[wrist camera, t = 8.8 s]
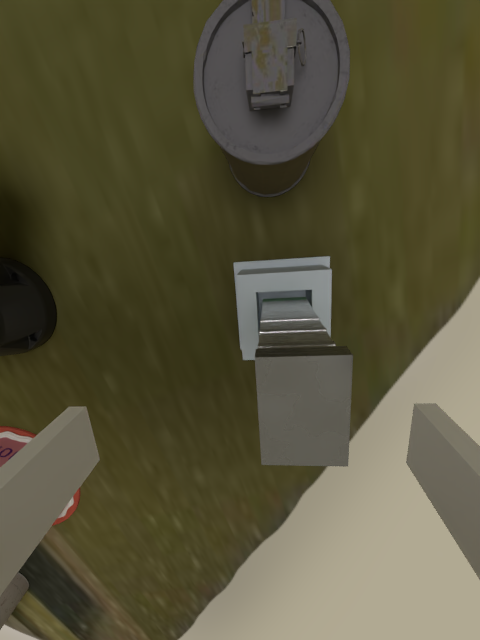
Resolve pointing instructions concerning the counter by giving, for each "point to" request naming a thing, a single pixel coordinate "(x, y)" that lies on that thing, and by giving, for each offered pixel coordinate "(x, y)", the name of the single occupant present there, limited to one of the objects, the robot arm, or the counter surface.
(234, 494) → the counter surface
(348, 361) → the column
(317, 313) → the stand base
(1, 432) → the cake
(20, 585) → the thermos bottle
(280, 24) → the canister
